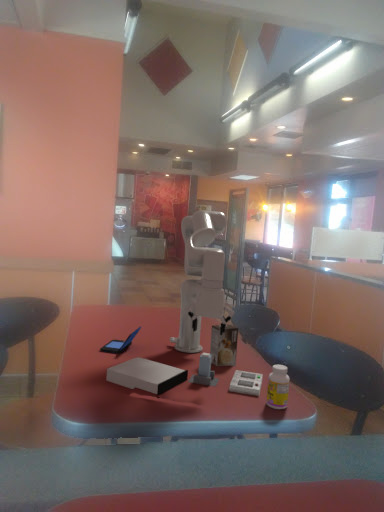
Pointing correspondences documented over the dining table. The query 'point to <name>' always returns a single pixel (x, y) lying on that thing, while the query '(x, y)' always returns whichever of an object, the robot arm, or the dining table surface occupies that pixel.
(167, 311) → the dining table surface
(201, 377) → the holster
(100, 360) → the dining table surface
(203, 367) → the plug
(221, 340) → the coffee box
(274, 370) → the supplement bottle
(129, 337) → the handheld game console
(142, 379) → the disc drive
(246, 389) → the port panel
